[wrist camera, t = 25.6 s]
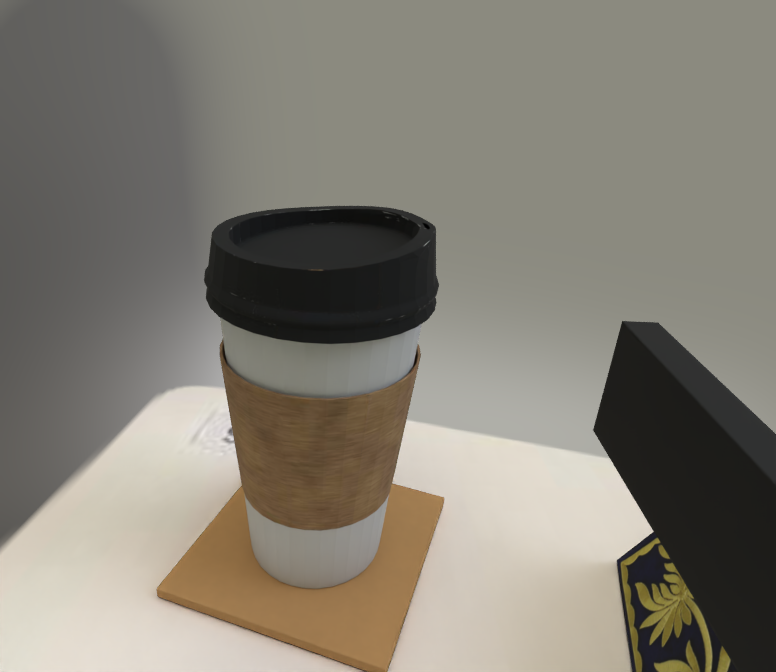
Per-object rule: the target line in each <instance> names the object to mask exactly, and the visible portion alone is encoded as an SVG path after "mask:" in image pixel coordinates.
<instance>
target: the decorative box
mask: <svg viewBox="0 0 776 672" xmlns="http://www.w3.org/2000/svg"><path fill="white" fill-rule="evenodd" d="M617 564H618V571H619V578H620V585H621V592H622V599H623V606H624V613H625V621H626V628H627V635H628V642H629V649H630V656H631V663H632V671H633V672H738V671H737V670H736V668H735V666H734V665H733V663H732V661H731V660H730V658H729V656H728V655H727V653H726V651H725V650H724V648H723V646H722V645H721V643H720V641H719V640H718V638H717V636H716V635H715V633H714V631H713V630H712V628H711V626H710V624H709V623H708V621H707V619H706V618H705V616H704V614H703V613H702V611H701V609H700V608H699V606H698V604H697V603H696V601H695V599H694V598H693V596H692V594H691V593H690V591H689V589H688V588H687V586H686V584H685V583H684V581H683V579H682V578H681V576H680V574H679V573H678V571H677V569H676V568H675V566H674V564H673V563H672V561H671V559H670V558H669V556H668V554H667V553H666V551H665V549H664V548H663V546H662V544H661V543H660V541H659V539H658V538H657V536H656V534H655V533H654V532H653V533H652V534H650V535H649V536H648V537H646V538H645V539H644V540H643V541H641V542H640V543H639V544H637V545H636V546H635V547H634V548H632V549H631V550H630V551H628V552H627V553H626V554H624V555H623V556H622V557H621V558H619V559H618V560H617Z"/></svg>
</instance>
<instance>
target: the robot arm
mask: <svg viewBox="0 0 776 672" xmlns="http://www.w3.org/2000/svg"><path fill="white" fill-rule="evenodd" d="M593 430H594V432H595V434H596V436H597V437H598V439H599V441H600V442H601V444H602V446H603V447H604V449H605V451H606V452H607V454H608V456H609V457H610V459H611V461H612V462H613V464H614V466H615V467H616V469H617V471H618V473H619V474H620V476H621V478H622V479H623V481H624V483H625V484H626V486H627V488H628V489H629V491H630V493H631V494H632V496H633V498H634V499H635V501H636V503H637V504H638V506H639V508H640V509H641V511H642V513H643V514H644V516H645V518H646V519H647V521H648V523H649V524H650V526H651V528H652V529H653V531H654V533H655V534H656V536H657V538H658V539H659V541H660V543H661V544H662V546H663V548H664V549H665V551H666V553H667V554H668V556H669V558H670V559H671V561H672V563H673V564H674V566H675V568H676V569H677V571H678V573H679V574H680V576H681V578H682V579H683V581H684V583H685V584H686V586H687V588H688V589H689V591H690V593H691V594H692V596H693V598H694V599H695V601H696V603H697V604H698V606H699V608H700V609H701V611H702V613H703V614H704V616H705V618H706V619H707V621H708V623H709V624H710V626H711V628H712V630H713V631H714V633H715V635H716V636H717V638H718V640H719V641H720V643H721V645H722V646H723V648H724V650H725V651H726V653H727V655H728V656H729V658H730V660H731V661H732V663H733V665H734V666H735V668H736V670H737V671H738V672H776V434H775V433H774V432H773V431H772V430H771V429H770V428H769V427H768V426H767V425H766V424H764V423H763V422H762V421H761V420H760V419H759V418H758V417H757V416H756V415H755V414H754V413H753V412H752V411H751V410H750V409H749V408H748V407H746V406H745V405H744V404H743V403H742V402H741V401H740V400H739V399H738V398H737V397H736V396H735V395H734V394H733V393H732V392H731V391H730V390H729V389H728V388H726V387H725V386H724V385H723V384H722V383H721V382H720V381H719V380H718V379H717V378H716V377H715V376H714V375H713V374H712V373H711V372H709V371H708V370H707V369H706V368H705V367H704V366H703V365H702V364H701V363H700V362H699V361H698V360H697V359H696V358H695V357H694V356H693V355H692V354H690V353H689V352H688V351H687V350H686V349H685V348H684V347H683V346H682V345H681V344H680V343H679V342H678V341H677V340H676V339H674V337H673V336H671V335H670V334H669V333H668V332H667V331H666V330H665V329H664V328H663V327H662V326H661V325H660V324H659V323H653V322H627V321H622V324H621V328H620V332H619V336H618V339H617V343H616V347H615V351H614V355H613V358H612V362H611V366H610V369H609V373H608V377H607V381H606V384H605V388H604V393H603V395H602V399H601V403H600V407H599V410H598V414H597V418H596V422H595V426H594V429H593Z"/></svg>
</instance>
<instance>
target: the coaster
mask: <svg viewBox="0 0 776 672" xmlns="http://www.w3.org/2000/svg"><path fill="white" fill-rule="evenodd" d="M443 503H444V498H443V497H440V496H436V495H432V494H429V493H425V492H421V491H418V490H414V489H410V488H407V487H403V486H399V485H396V484H392V486H391V490H390V493H389V497H388V502H387V507H386V512H385V518H384V523H383V528H382V533H381V538H380V542H379V547H378V551H377V553H376V555H375V557H374V559H373V561H372V562H371V563H370V564H369V565H368V567H367V568H366V569H365V570H364V571H363V572H361V573H360V574H359V575H358V576H356V577H355V578H353V579H351V580H349V581H347V582H345V583H342V584H339V585H336V586H333V587H326V588H320V589H312V588H301V587H295V586H291V585H288V584H286V583H283V582H280V581H279V580H277V579H275V578H274V577H272V576H270V575H269V574H268V573H267V572H266V571H265V570H264V569H263V568H262V567H261V566H260V564H259V563H258V561H257V559H256V558H255V555H254V552H253V549H252V545H251V538H250V531H249V524H248V516H247V509H246V502H245V494H244V491H243V488H242V486H241V487H240V488H239V489H238V491H237V492H236V493H235V494H234V495H233V497H232V498H231V499H230V500H229V501H228V503H227V504H226V505H225V506H224V507H223V509H222V510H221V511H220V512H219V514H218V515H217V516H216V517H215V518H214V520H213V521H212V522H211V523H210V524H209V526H208V527H207V528H206V529H205V531H204V532H203V533H202V534H201V535H200V537H199V538H198V539H197V540H196V541H195V543H194V544H193V545H192V546H191V548H190V549H189V550H188V551H187V552H186V554H185V555H184V556H183V557H182V558H181V560H180V561H179V562H178V563H177V565H176V566H175V567H174V568H173V569H172V571H171V572H170V573H169V574H168V575H167V577H166V578H165V579H164V580H163V582H162V583H161V584H160V585H159V586H158V588H157V596H158V597H160V598H163V599H166V600H169V601H171V602H174V603H177V604H180V605H183V606H185V607H188V608H191V609H194V610H197V611H199V612H202V613H205V614H208V615H211V616H213V617H216V618H219V619H222V620H225V621H227V622H230V623H233V624H236V625H239V626H241V627H244V628H247V629H250V630H253V631H255V632H258V633H261V634H264V635H267V636H270V637H272V638H275V639H278V640H281V641H284V642H286V643H289V644H292V645H295V646H298V647H300V648H303V649H306V650H309V651H312V652H314V653H317V654H320V655H323V656H326V657H328V658H331V659H334V660H337V661H340V662H342V663H345V664H348V665H351V666H354V667H356V668H359V669H362V670H365V671H368V672H387V671H388V668H389V665H390V662H391V659H392V656H393V653H394V650H395V647H396V644H397V641H398V638H399V635H400V632H401V629H402V626H403V623H404V620H405V617H406V614H407V611H408V608H409V605H410V602H411V599H412V596H413V593H414V590H415V587H416V584H417V581H418V578H419V575H420V572H421V569H422V566H423V563H424V560H425V557H426V555H427V552H428V549H429V546H430V543H431V540H432V537H433V534H434V531H435V528H436V525H437V522H438V519H439V516H440V513H441V510H442V507H443Z"/></svg>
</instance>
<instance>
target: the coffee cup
mask: <svg viewBox="0 0 776 672" xmlns="http://www.w3.org/2000/svg"><path fill="white" fill-rule="evenodd" d="M204 281H205V284H206V286H207V292H206V299H207V302H208V304H209V306H210V308H211V309H212V310H213V311H214V312H215V313H216V314H217V315H218V316H219V317H220V319H221V327H222V334H223V340H222V342H221V344H220V359H221V365H222V371H223V377H224V383H225V389H226V395H227V400H228V406H229V412H230V418H231V424H232V430H233V435H234V441H235V447H236V453H237V459H238V465H239V470H240V476H241V482H242V488H243V491H244V494H245V502H246V509H247V516H248V524H249V531H250V538H251V545H252V549H253V552H254V555H255V558H256V559H257V561H258V563H259V564H260V566H261V567H262V568H263V569H264V570H265V571H266V572H267V573H268V574H269V575H270V576H272V577H274V578H275V579H277V580H279V581H280V582H283V583H286V584H288V585H291V586H295V587H301V588H312V589H320V588H326V587H333V586H336V585H339V584H342V583H345V582H347V581H349V580H351V579H353V578H355V577H356V576H358V575H359V574H360V573H361V572H363V571H364V570H365V569H366V568H367V567H368V565H369V564H370V563H371V562H372V561H373V559H374V557H375V555H376V553H377V551H378V547H379V542H380V538H381V533H382V528H383V523H384V518H385V512H386V507H387V502H388V497H389V493H390V490H391V486H392V481H393V477H394V472H395V468H396V463H397V459H398V455H399V450H400V446H401V441H402V437H403V432H404V428H405V423H406V419H407V414H408V410H409V405H410V401H411V397H412V392H413V388H414V383H415V378H416V374H417V369H418V365H419V361H420V356H421V354H420V348H419V345H418V340H419V335H420V329H421V324H422V323H423V322H425V321H426V320H427V319H428V318H429V317H430V316H431V315H432V313H433V312H434V310H435V306H436V298H435V296H436V294H437V291H438V287H439V283H438V280H437V277H436V228H435V226H433V224H431V223H429V222H428V221H426V220H424V219H422V218H421V217H418V216H416V215H414V214H412V213H408V212H405V211H402V210H397V209H392V208H384V207H373V206H325V207H301V208H286V209H275V210H267V211H261V212H253V213H249V214H245V215H241V216H237V217H234V218H231V219H229V220H226V221H225V222H223V223H221V224H219V225H218V226H217V227H216V228H215V229H214V231H213V232H212V238H211V247H210V256H209V265H208V267H207V269H206V270H205V278H204Z"/></svg>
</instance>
